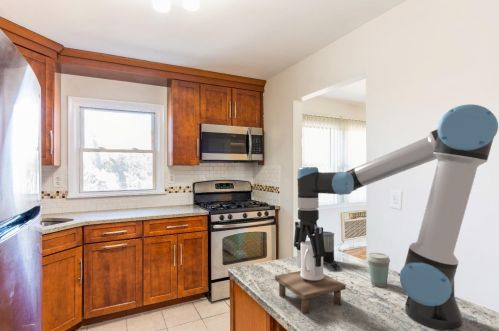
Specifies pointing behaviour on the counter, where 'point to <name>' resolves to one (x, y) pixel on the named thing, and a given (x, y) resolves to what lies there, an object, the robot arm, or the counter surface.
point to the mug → (309, 262)
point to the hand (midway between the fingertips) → (308, 271)
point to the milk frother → (329, 249)
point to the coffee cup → (378, 269)
